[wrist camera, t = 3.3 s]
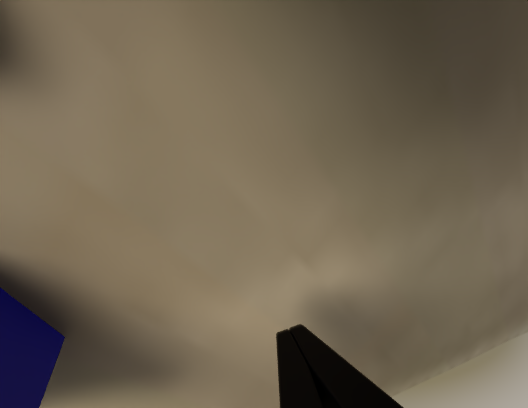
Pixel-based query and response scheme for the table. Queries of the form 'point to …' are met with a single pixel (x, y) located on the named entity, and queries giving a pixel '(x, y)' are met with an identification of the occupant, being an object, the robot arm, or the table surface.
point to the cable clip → (25, 354)
